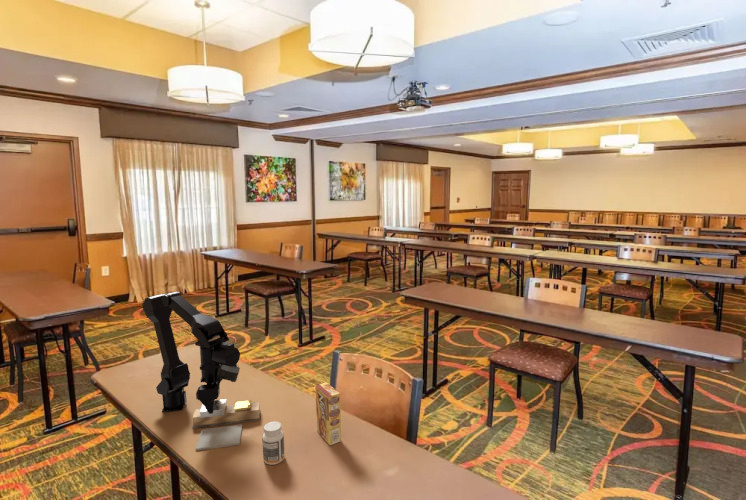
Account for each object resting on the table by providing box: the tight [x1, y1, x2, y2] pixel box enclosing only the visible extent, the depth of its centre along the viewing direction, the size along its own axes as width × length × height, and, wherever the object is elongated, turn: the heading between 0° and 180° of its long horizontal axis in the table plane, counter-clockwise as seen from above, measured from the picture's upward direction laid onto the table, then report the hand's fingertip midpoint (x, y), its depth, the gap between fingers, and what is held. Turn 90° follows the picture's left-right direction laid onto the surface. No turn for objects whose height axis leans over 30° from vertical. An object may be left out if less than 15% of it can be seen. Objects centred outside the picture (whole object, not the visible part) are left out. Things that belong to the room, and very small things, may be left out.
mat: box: [195, 424, 243, 452], centre depth 124 cm, size 12×10×1 cm
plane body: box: [192, 401, 261, 429], centre depth 134 cm, size 20×5×4 cm, turn 103°
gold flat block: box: [234, 399, 252, 411], centre depth 135 cm, size 1×4×5 cm
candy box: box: [315, 382, 342, 446], centre depth 123 cm, size 9×4×15 cm, turn 33°
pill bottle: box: [261, 421, 285, 466], centre depth 114 cm, size 6×6×10 cm
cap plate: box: [200, 398, 228, 418], centre depth 133 cm, size 7×6×2 cm
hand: (213, 406), depth 133 cm, fingers open, 9 cm apart
